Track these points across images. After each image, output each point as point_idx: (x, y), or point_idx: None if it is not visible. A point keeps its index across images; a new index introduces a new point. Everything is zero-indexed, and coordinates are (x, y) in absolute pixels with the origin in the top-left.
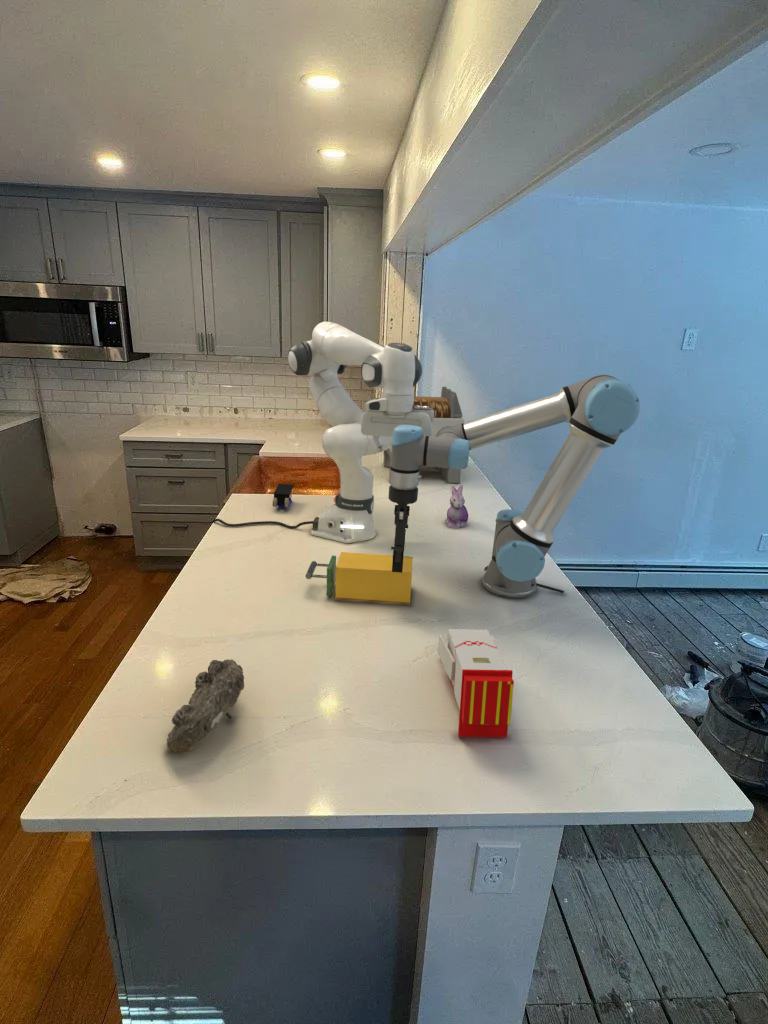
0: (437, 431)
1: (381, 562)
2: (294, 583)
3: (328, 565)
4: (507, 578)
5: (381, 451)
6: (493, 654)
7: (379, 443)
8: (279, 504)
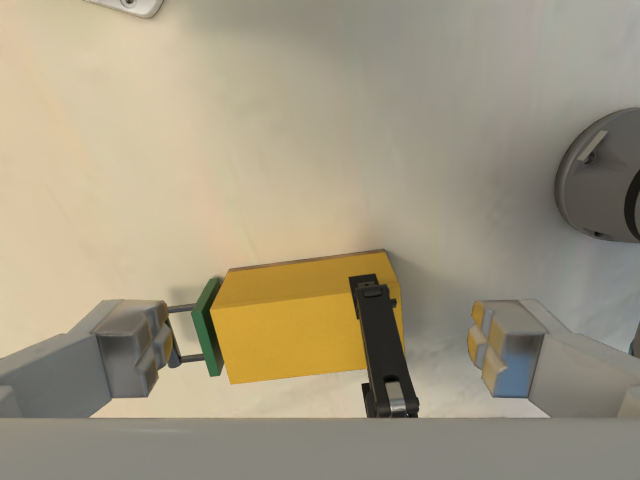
0: None
1: (326, 338)
2: (136, 293)
3: (206, 361)
4: (630, 242)
5: (171, 349)
6: None
7: (80, 349)
8: None
